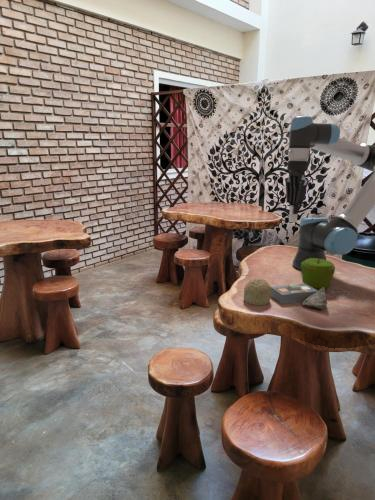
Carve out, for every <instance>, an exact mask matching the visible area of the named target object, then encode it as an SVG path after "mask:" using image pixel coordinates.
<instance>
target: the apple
mask: <svg viewBox="0 0 375 500" xmlns="http://www.w3.org/2000/svg"><path fill="white" fill-rule="evenodd" d="M335 270H336V266H335V264H334V263H333V262H332V261H330V260H327V259H326V260H323V259H317V258H309V259H306V260H305V261H303V262H302V263H301V270H300V271H301V275H302V284H307V285H309V286H311V287H312V288H314V289H316V290H320V289H321V288H323V287H324V289H325V290H326V288H329V287H330V286H331V283H332V280H333V277H334V276H335V275H334V274H335Z"/></svg>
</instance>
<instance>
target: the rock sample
mask: <svg viewBox="0 0 375 500" xmlns="http://www.w3.org/2000/svg"><path fill="white" fill-rule="evenodd" d="M326 294H327V293H326V288H325V289H324V287H323V288H321V289H318V292H316V293H315V294H313V295H311V296H309V297H307V298H306V299H304V300H303V302H301V305H302V306H304V307H308V308H316V309H318V310H321V311H322V310H325V307H326V306H327V304H328V301H327V295H326Z"/></svg>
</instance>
